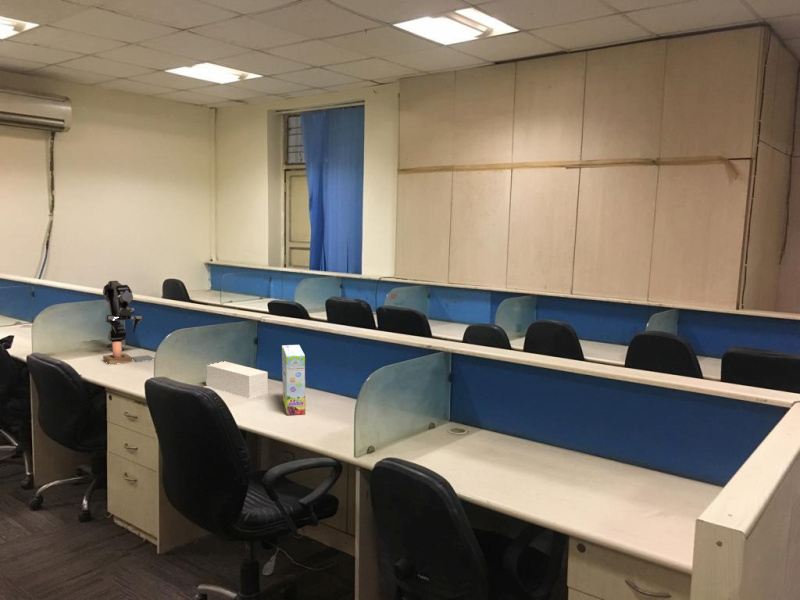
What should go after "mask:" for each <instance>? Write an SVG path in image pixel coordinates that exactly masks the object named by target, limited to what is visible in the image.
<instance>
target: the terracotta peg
mask: <svg viewBox="0 0 800 600" xmlns="http://www.w3.org/2000/svg"><path fill="white" fill-rule="evenodd" d="M112 344H113V351H112V355H113V358H119V357H122V354H123V352H122V351H123V350H122V348H123V343H122V344H121V342H120V341H116V342H112V341H111V345H112Z"/></svg>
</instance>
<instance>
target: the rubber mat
mask: <svg viewBox="0 0 800 600" xmlns="http://www.w3.org/2000/svg"><path fill="white" fill-rule="evenodd" d="M131 357H132V359H133V360H135V361H140V362H144V361H143V360H149V361H153V360H152V359H154V360H155V358H154V357H153V356H150V355H148V354H146V355H137V356H131ZM133 360H132V361H133ZM135 361H134V362H135Z"/></svg>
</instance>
